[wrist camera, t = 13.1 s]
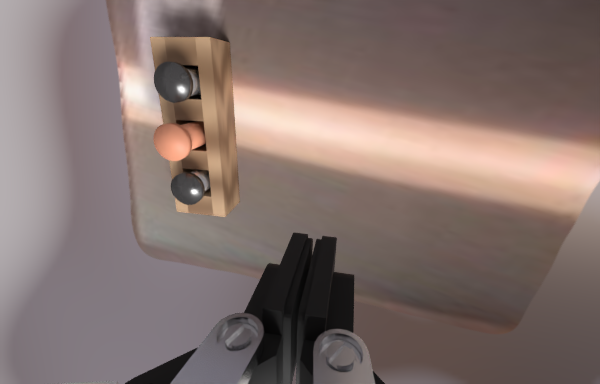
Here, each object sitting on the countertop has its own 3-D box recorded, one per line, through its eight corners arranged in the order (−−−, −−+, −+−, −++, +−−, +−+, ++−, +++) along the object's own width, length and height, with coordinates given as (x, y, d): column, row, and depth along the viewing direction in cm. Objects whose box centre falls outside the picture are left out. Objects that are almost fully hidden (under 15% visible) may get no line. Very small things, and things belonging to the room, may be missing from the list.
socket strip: (176, 42, 35) (149, 36, 31) (229, 42, 34) (210, 37, 30) (196, 197, 43) (177, 211, 39) (239, 201, 42) (225, 216, 37)
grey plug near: (187, 64, 35) (150, 61, 29) (217, 64, 35) (186, 61, 28) (191, 98, 37) (157, 102, 31) (219, 99, 36) (191, 103, 30)
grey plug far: (197, 157, 40) (168, 172, 34) (224, 159, 39) (199, 175, 33) (201, 184, 41) (173, 203, 35) (226, 186, 41) (203, 206, 34)
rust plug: (186, 115, 36) (150, 123, 30) (215, 116, 35) (185, 124, 29) (190, 146, 38) (157, 159, 31) (218, 148, 37) (190, 162, 31)
